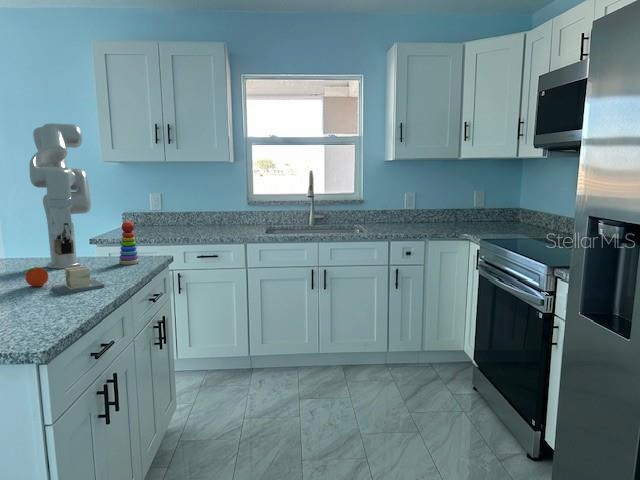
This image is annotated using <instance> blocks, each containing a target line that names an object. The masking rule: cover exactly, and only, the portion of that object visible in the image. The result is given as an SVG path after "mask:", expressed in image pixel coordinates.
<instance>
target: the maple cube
mask: <svg viewBox="0 0 640 480" xmlns="http://www.w3.org/2000/svg"><path fill="white" fill-rule="evenodd" d="M64 273H65V275H64V276H65V284H66V285H67V286H69V287H70V288H77V287H83V286H89V285H90V280H91V278H90V275H91V274H90V268H89V267H87V266H85V265H79V266H75V267H70V268H64Z"/></svg>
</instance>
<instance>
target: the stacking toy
mask: <svg viewBox="0 0 640 480" xmlns="http://www.w3.org/2000/svg"><path fill="white" fill-rule="evenodd" d="M134 229H135V225H134V223H133V222H132V221H129V220H126V221H124V222H123V223H122V225H121V230H122V233H121V239H120V241H121V243H120V244H121V246H120V252H119V254H120V255H119V260H118V261H119V264H120V265H122V266H127V265H128V266H129V265H137V264H139V261H140V260H139V255H138V250H137V246H136V245H137V242H136V241H135V240H136V238H135V237H134V236H135V232H134Z"/></svg>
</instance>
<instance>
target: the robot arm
mask: <svg viewBox="0 0 640 480" xmlns="http://www.w3.org/2000/svg"><path fill="white" fill-rule="evenodd" d="M32 137H33V141H34V145H35V147H36V149H37V152H35V153H34V155H32V157H31V159H30V161H29V166H28V167H29V169H28V170H29V180H30V182H31V185H32V186H33V187H35V188H42V189H43V188H46V194H44V196H43V197H42V205H43V209H44V212H45V217H46V224H47V231H48V232H47V233H48V243H49V244H48V245H49V254H50V262H49V263H47V265H46V267H47V268H49V269H60V270H61V269H65V268H71V267H79V266H81V264H82V262H81V260H78V259H77V250H76V237H75V236H76V235H75V226H74V223H73V221H72V215H79V214H81V215H82V214H87V213H89V212H90V211H91V208H92V203H91V193H90V187H89V186H90V185H89V179H88V175H87V172H86V171H85V170H83V169H81V168H69V167H68V166H67V160H66V157H67V155H68V149H67V148H70V149H72V148H79V147H80V146H81V144H82V143H83V134H82V130H81V128H80V127H79V126H78V125H77V124H72V123H53V122H52V123H46V124H44V125H42V126H39V127H36V128H35V129H34V130H33V133H32ZM54 239H61V240H62V243H61V250H62V254H65V255H58V254H56V253H55V248H54ZM71 239H72V240H73V246H74V253H73V254H68V253H72V248H71Z"/></svg>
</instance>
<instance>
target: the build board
mask: <svg viewBox="0 0 640 480" xmlns="http://www.w3.org/2000/svg"><path fill="white" fill-rule="evenodd" d="M101 288H105V284H104V283H102V282H100V281H98V280H96V279H90V285H89V286H83V287H77V288H70V287H69V286H67V285H66V283H64V284H58V285H53V286H51V290H52V291H54V292H55V293H57V294H58V295H60V296H64V295H70V294H74V293H75V294H76V293H80V292H86V291H92V290H97V289H101Z"/></svg>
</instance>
